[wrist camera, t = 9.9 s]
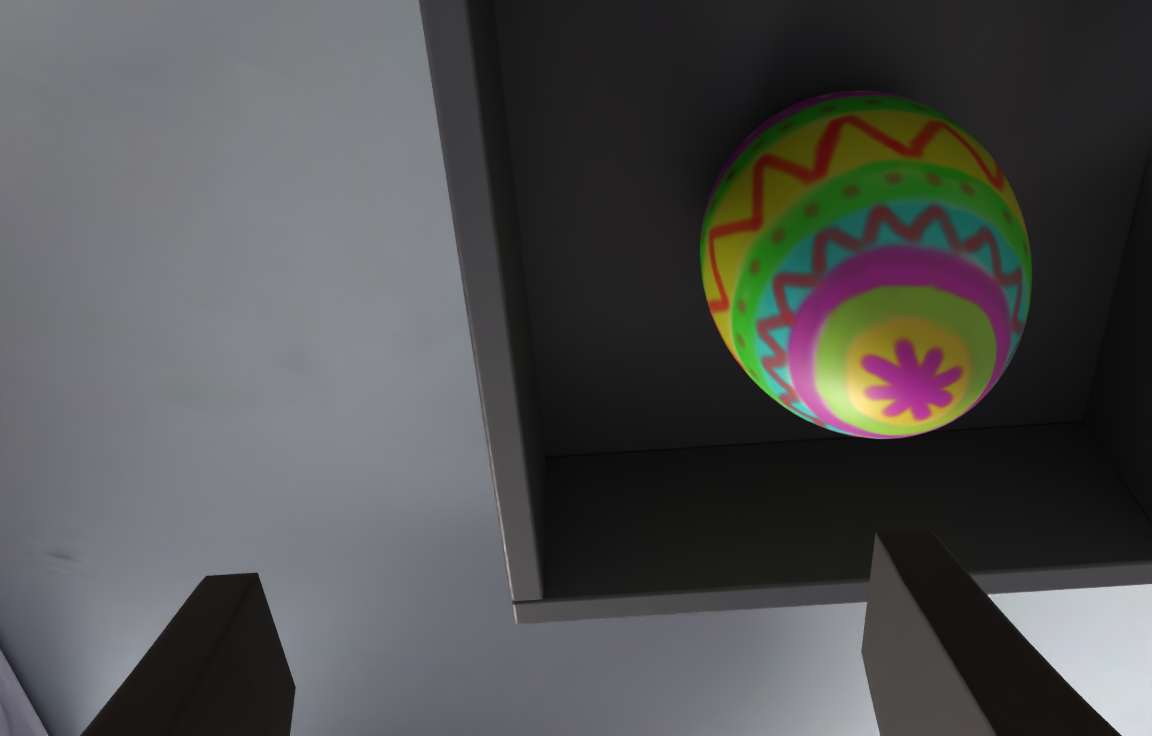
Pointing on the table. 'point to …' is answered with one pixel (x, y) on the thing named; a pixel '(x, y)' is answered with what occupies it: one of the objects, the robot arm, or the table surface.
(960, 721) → the robot arm
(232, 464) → the table surface
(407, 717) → the table surface
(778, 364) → the egg
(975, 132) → the bin
